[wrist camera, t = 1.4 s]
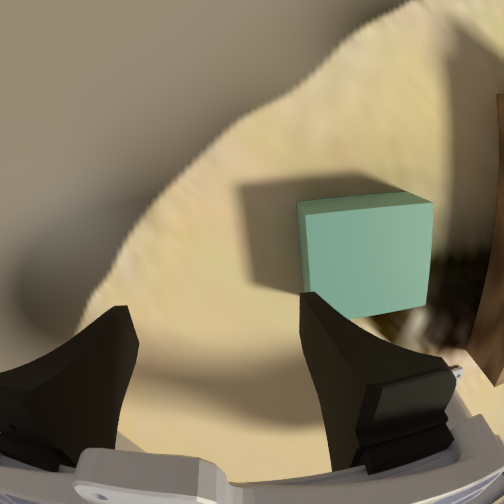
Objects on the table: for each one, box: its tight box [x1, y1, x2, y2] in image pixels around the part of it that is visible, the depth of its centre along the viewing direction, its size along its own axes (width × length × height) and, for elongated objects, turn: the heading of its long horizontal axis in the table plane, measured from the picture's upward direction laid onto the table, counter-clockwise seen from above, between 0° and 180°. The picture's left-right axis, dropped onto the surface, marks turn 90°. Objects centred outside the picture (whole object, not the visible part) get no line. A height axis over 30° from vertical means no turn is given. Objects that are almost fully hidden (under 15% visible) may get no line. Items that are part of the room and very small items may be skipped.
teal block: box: [296, 192, 433, 319], centre depth 20 cm, size 7×8×4 cm
